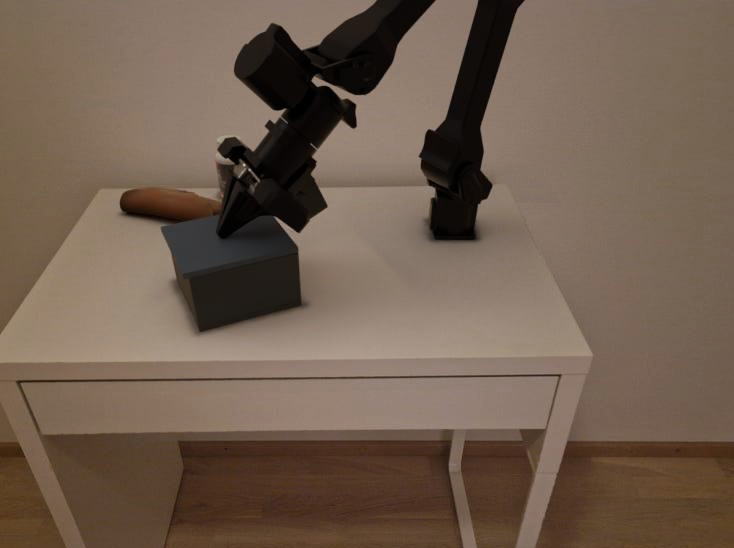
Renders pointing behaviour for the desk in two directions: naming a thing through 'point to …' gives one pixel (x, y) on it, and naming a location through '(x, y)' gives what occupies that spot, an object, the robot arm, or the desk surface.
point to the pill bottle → (223, 164)
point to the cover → (225, 244)
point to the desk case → (242, 291)
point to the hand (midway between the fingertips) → (219, 236)
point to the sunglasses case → (169, 203)
